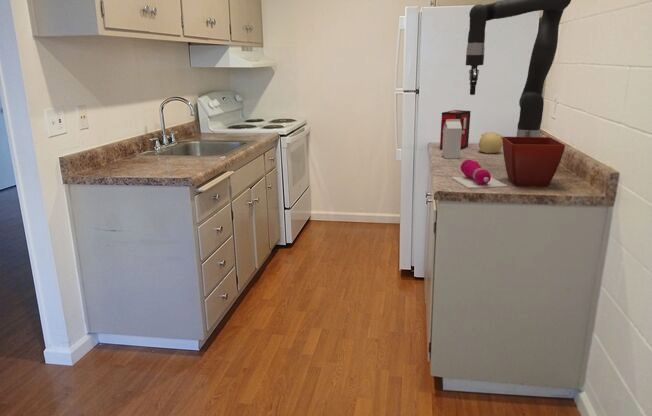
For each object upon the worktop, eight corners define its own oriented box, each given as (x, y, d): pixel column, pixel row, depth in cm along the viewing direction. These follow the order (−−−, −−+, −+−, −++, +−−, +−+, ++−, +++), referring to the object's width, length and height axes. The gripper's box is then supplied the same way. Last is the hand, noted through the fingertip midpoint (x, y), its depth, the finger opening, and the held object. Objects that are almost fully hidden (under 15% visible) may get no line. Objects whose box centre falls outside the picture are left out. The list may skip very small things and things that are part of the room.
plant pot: (560, 189, 190) (566, 144, 185) (508, 187, 192) (512, 144, 188) (546, 177, 208) (550, 136, 203) (498, 176, 211) (501, 136, 206)
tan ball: (503, 151, 266) (505, 131, 263) (497, 155, 256) (499, 134, 253) (482, 150, 272) (483, 130, 269) (475, 153, 262) (477, 132, 259)
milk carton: (459, 158, 249) (462, 119, 244) (445, 158, 249) (447, 120, 243) (455, 155, 256) (458, 118, 250) (441, 156, 256) (444, 118, 250)
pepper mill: (468, 178, 212) (488, 192, 193) (455, 169, 210) (474, 183, 191) (479, 164, 210) (499, 177, 191) (466, 155, 208) (485, 167, 190)
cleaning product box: (453, 145, 286) (455, 110, 280) (468, 147, 281) (470, 110, 275) (439, 149, 274) (441, 112, 268) (455, 151, 268) (457, 113, 263)
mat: (450, 178, 209) (450, 177, 209) (487, 176, 211) (487, 175, 211) (468, 188, 192) (468, 187, 192) (507, 186, 194) (508, 185, 194)
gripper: (485, 53, 212) (482, 95, 217) (483, 54, 224) (480, 93, 229) (466, 54, 214) (464, 95, 219) (465, 54, 226) (463, 93, 231)
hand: (472, 94), depth 224 cm, fingers closed
